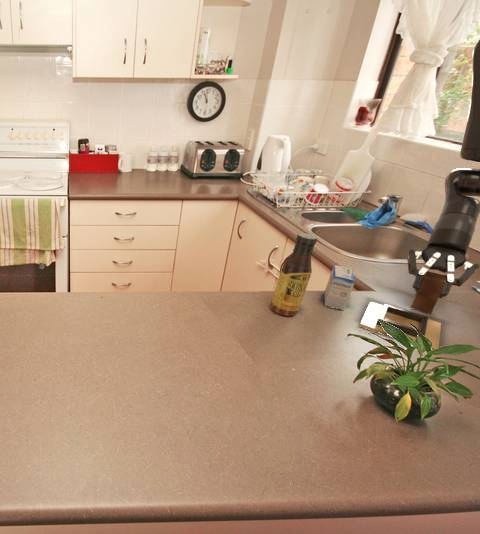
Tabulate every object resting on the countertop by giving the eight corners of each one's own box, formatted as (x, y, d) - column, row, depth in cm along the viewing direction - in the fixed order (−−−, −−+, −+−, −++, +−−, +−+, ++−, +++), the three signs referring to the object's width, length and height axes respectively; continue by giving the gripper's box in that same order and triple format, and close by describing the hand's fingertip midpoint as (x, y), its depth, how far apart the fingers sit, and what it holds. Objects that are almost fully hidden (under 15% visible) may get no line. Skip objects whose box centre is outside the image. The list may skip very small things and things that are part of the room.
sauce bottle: (279, 318, 92) (302, 241, 84) (264, 305, 98) (284, 231, 89) (304, 316, 93) (329, 240, 85) (287, 303, 99) (309, 230, 90)
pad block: (431, 307, 99) (446, 275, 95) (430, 314, 96) (446, 282, 92) (412, 301, 101) (426, 270, 97) (410, 308, 98) (424, 277, 94)
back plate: (439, 326, 91) (444, 317, 90) (436, 353, 81) (441, 343, 80) (368, 304, 99) (372, 296, 98) (358, 327, 90) (362, 317, 89)
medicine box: (323, 293, 104) (333, 264, 100) (342, 298, 102) (353, 268, 98) (323, 306, 98) (334, 275, 94) (344, 311, 96) (355, 280, 92)
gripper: (419, 221, 99) (395, 278, 96) (495, 235, 91) (472, 298, 88) (413, 235, 105) (390, 289, 102) (484, 249, 96) (462, 309, 94)
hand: (428, 293), depth 95 cm, fingers closed on pad block, 4 cm apart
